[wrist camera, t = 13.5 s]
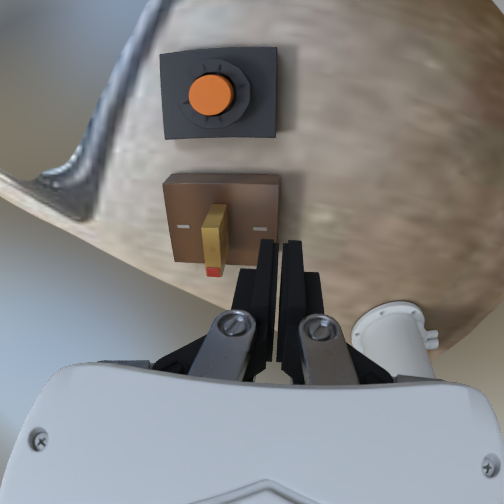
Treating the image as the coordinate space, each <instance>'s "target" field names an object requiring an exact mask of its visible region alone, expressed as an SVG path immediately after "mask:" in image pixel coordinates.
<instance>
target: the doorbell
mask: <svg viewBox="0 0 504 504" xmlns="http://www.w3.org/2000/svg"><path fill="white" fill-rule="evenodd" d="M206 75H219V76H222V77H224V78H226V79H227V80H228V81H229V82H230V83H231V85H232V87H233V91H234V96H233V100H232V102H231V104H230V105H229V106H228V107H227V108H226V109H225V110H223V111H222V112H220V113H218V114H216V115H204V114H201V113H199V112H197V111H196V110H195V109H194V108H193V107H192V105H191V104H190V101H189V90H190V88H191V86H192V84H193V83H194V82H195V81H196V80H197V79H198V78H200V77H202V76H206ZM160 78H161V95H162V110H163V123H164V135H165V140H169V139H186V138H216V137H258V138H275V137H276V94H277V47H228V48H211V49H199V50H189V51H181V52H173V53H166V54H160Z"/></svg>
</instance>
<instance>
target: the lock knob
mask: <svg viewBox="0 0 504 504" xmlns="http://www.w3.org/2000/svg"><path fill="white" fill-rule="evenodd" d="M201 230H202V240H203V250H204V259H205V268H206V276H209V277H222V276H223V272H224V268H225V264H226V260H227V256H228V252H229V232H228V209H227V204H212V205H211V208H210V210H209V212H208V214H207V216H206V219H205V221H204V223H203V225H202V228H201Z"/></svg>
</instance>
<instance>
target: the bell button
mask: <svg viewBox="0 0 504 504" xmlns="http://www.w3.org/2000/svg"><path fill="white" fill-rule="evenodd" d="M233 96H234V91H233V87H232V85H231V83H230V82H229V81H228V80H227V79H226V78H224V77H222V76H219V75H206V76H202V77H200V78H198V79H197V80H196V81H195V82H194V83H193V84H192V86H191V88H190V90H189V101H190V104H191V105H192V107H193V108H194V109H195V110H196V111H197V112H199V113H201V114H204V115H216V114H218V113H220V112H222V111H223V110H225V109H226V108H227V107H228V106H229V105H230V104H231V102H232V100H233Z"/></svg>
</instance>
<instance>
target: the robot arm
mask: <svg viewBox="0 0 504 504" xmlns="http://www.w3.org/2000/svg"><path fill="white" fill-rule="evenodd" d="M278 252H279V243H274V239H261V241H260V248H259V255H258V262H257V268H256V269H243V268H241V269H240V272H239V276H238V281H237V285H236V290H235V294H234V298H233V303H232V307H231V310H227V311H225V312H222V313H221V314H219V315H218V316H217V317H216V318H215V320H214V322H213V324H212V326H211V328H210V330H209V332H208V334H207V335H205V336H203V337H201V338H199V339H197V340H195V341H193V342H191V343H190V344H188V345H186V346H184V347H182V348H180V349H178V350H176V351H174V352H172V353H170V354H168V355H166V356H164V357H162V358H161V359H159V360H158V361H157V362H156V363H150V361H149V360H136V361H106V360H104V361H98V362H95V363H94V362H88V363H79V364H73V365H69V366H66V367H63V368H61V369H60V370H58V371H57V372H56V373H55V374H53V375H52V377H51V378H50V379H49V380H48V381H47V383H46V384H45V386H44V387H43V389H42V390H41V392H40V394H39V395H38V397H37V398H36V400H35V402H34V404H33V406H32V408H31V410H30V411H29V413H28V416H27V418H26V420H25V422H24V424H23V426H22V429H21V431H20V433H19V436H18V438H17V441H16V443H15V446H14V448H13V451H12V453H11V456H10V459H9V461H8V464H7V468H6V471H5V474H4V477H3V481H2V485H1V488H0V504H504V439H503V435H502V432H501V429H500V425H499V423H498V420H497V417H496V414H495V412H494V410H493V408H492V406H491V404H490V402H489V400H488V399H487V397H486V396H485V395H484V394H483V393H482V392H481V391H479V390H478V389H476V388H474V387H471V386H468V385H465V384H461V383H456V382H447V381H444V380H441V379H436V377H435V374H434V371H433V368H432V365H431V362H430V359H429V356H428V353H427V350H429V349H437V347H438V344H439V342H438V339H437V337H438V331H437V330H430V331H426V330H425V329H424V323H425V320H424V315H423V313H422V311H421V309H420V308H419V307H418V306H416V305H415V304H413V303H410V302H404V301H396V302H390V303H386V304H383V305H380V306H378V307H376V308H374V309H372V310H370V311H369V312H367V313H366V314H365V315H363V316H362V317H361V318H360V319H359V320H358V321H357V323H356V324H355V326H354V327H353V330H352V333H351V339H352V344H353V347H354V348H353V347H352V346H351V345H349V344H348V343H346V341H345V338H344V335H343V333H342V330H341V327H340V325H339V323H338V322H337V321H336V320H335V319H334V318H332V317H330V316H328V315H324V307H323V299H322V291H321V283H320V276H319V273H318V272H304V266H303V253H302V241H298V240H288V243H283V252H282V268H281V283H280V298H279V319H278V339H277V358H276V362H282V365H281V366H282V367H281V370H283V371H284V372H285V373H286V374H288V375H289V376H290V385H289V384H287V385H286V384H268V383H255V378H256V375H257V374H258V373H260V372H262V371H263V370H264V369H266V361H269V362H272V351H273V338H274V324H275V310H276V293H277V273H278ZM426 349H427V350H426Z"/></svg>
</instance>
